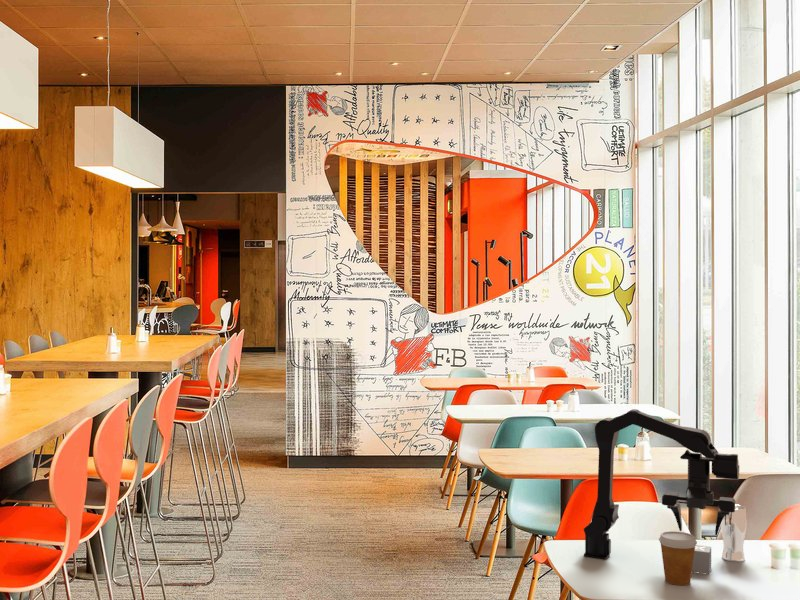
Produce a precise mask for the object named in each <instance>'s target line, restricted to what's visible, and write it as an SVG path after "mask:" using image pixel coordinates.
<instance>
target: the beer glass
mask: <svg viewBox="0 0 800 600" xmlns="http://www.w3.org/2000/svg"><path fill="white" fill-rule="evenodd" d="M746 509H747V508H746V506H744V505H741V504H737V503H736V508H735V512H730V514H729V515H725V516H724V518H723V520H722V522H721V524H720V530H721V531H720V532H721V536H722V542H723V543H722V544H723V549H722V554H721V558H722V559H723V560H724V561H728V562H734V563H741V562H744V561H745V559H746V558H745V553H744V543H745V537H746V533H747V510H746Z"/></svg>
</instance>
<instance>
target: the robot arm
mask: <svg viewBox="0 0 800 600" xmlns="http://www.w3.org/2000/svg"><path fill="white" fill-rule="evenodd" d="M633 425H634V426H637V427H640V428H642V429H645V430H648V431H650V432H652V433H656V434H658V435H661V436H664V437H666V438H669V439H671V440H673V441H675V442H676V443H678V444H680V445H681V446H682V447H684V448H686V450H685V451H684V453H682V454H681V456H679V457H680V459H681V460H687V487H686V490H685V491H686V492H685V493H686V494H685V496H683V495H680V493H679V492H677V491H665V492H664V493H663V495H662V497H661V505H662V506H666V508H667V509H670V510H671V512H672V513H673V515H674V517H675V521H676V523H677V527H678V531H679V532H683V531H682V530H683V521H682V508H681V504H684V505H685V504H686V507H687V508H689V509H699V510H705V509H706V507H713V508H714V507H715V508H718V510H717V515H716V524H715V528H714V529H715V530H714V531H715V532H714V535H715V536H717V535H718V534H719V529H720V528H721V522H722V520H723V518H724V516H725V515H729V514H730V512H735V508H736V504H737V503H736V500H735V498H734V497H725V496H720V497H719V499H714V491H713V490H710V489H711V488H710V487H711V484H710V482H711V480H710V479H711V478H710V477H711V474H712V475H713V476H715V478H716V479H725V480H734V481H739V478H740V463H739V454H738V453H730V454H729V453H719V451H718V450H717V448H716V447H715V446H714V444H713V443H712V438H711V436H710V434H709V432H708V431H706V430H704V429H700V428H695V427H690V426H682V425H677V424H675V423H672V422H669V421H667V420H665V419H662V418H658V417H656V416H653V415H650V414H647V413H645V412H643V411H640V410H639V409H635V408H634V409H633V408H632V409H631V410H629V411H627V412H626V413H623V414H621V415H619V416H617V417H615V418H614V417H613V418H612V417H606V418H604V419H601V420H599V421H598V422H597V423H596V424H595V426H594V434H595V442H596V444H597V449H598V466H597V467H598V471H597V495H596V496H597V497H596V500H595V505H594V507H593V511H592V517H591V521H590V522H589V524H587V525H586V526H585V527H584V528H583V532H584V535H585V537H584V539H585V540H584V543H585V546H584V553H583V556H584V557H590V558H596V559H604V560H606V559H608V557H609V556H610V555H611V552H612V540H611V538H610V533H608V532H609V530H610V529H611V528H612V527H613V526H615V524H616V522H617V521H618V519H619V517H620V516H619V513H618V512H619V507H620V505H619V504H615V501H614V499H613V498H614V497H613V489H614V488H613V487H614V486H613V485H614V484H613V483H614V481H613V480H614V461H615V460H614V459H615V458H614V457H615V453H614V452H615V448H616V444H617V442H618V440H619V439H618V438H619V433H620V431H621V430H624V429H626V428H628V427H630V426H633ZM710 466H711V467H710ZM710 469H711V470H710ZM710 472H711V474H710Z"/></svg>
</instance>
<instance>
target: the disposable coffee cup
mask: <svg viewBox="0 0 800 600" xmlns="http://www.w3.org/2000/svg"><path fill="white" fill-rule="evenodd" d="M658 541H659V544H660V549H661V557H662V564H663V565H662V566H663V574H664V581H665V582H666V583H668V584H670V585H675V586H687V585H690V584H691V580H692V579H691V578H692V575H693V574H692V573H693V572H692V566H693V559H694V551H695V546H696V545H698V541H697V540H696V537H695V536H694V534H691V533H687V532H683V531H675V530H674V531H672V530H671V531H663V532H661V533H660V535H659V538H658Z"/></svg>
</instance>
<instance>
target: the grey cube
mask: <svg viewBox="0 0 800 600" xmlns="http://www.w3.org/2000/svg"><path fill="white" fill-rule="evenodd" d="M710 570H712V546H707V545H700V544H696V546H695V551H694V559H693V566H692V573H694V572H699V573H698V574H702V573H706V574H705V575H710V574H711V571H710Z"/></svg>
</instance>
